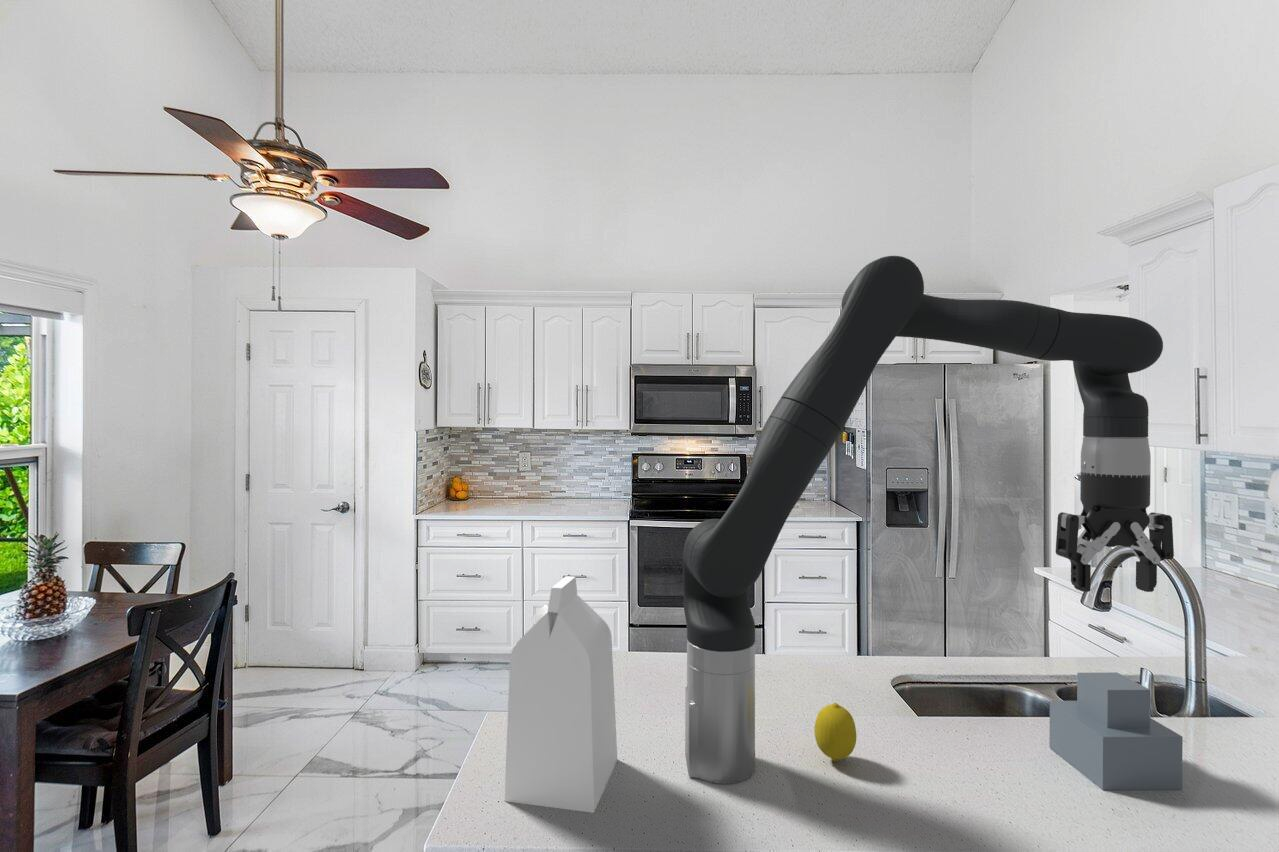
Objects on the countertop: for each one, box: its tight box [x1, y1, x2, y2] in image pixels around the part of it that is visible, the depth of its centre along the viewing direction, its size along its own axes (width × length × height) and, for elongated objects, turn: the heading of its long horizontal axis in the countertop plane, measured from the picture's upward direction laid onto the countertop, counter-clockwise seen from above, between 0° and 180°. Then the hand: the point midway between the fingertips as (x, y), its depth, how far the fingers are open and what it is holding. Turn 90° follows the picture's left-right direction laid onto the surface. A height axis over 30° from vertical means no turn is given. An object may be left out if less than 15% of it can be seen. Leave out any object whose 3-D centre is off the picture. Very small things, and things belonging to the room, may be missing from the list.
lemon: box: [814, 702, 857, 763], centre depth 87 cm, size 6×6×8 cm
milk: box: [503, 575, 618, 814], centre depth 82 cm, size 12×12×26 cm
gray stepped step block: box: [1049, 671, 1184, 791], centre depth 85 cm, size 10×10×12 cm
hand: (1113, 590), depth 85 cm, fingers open, 8 cm apart
